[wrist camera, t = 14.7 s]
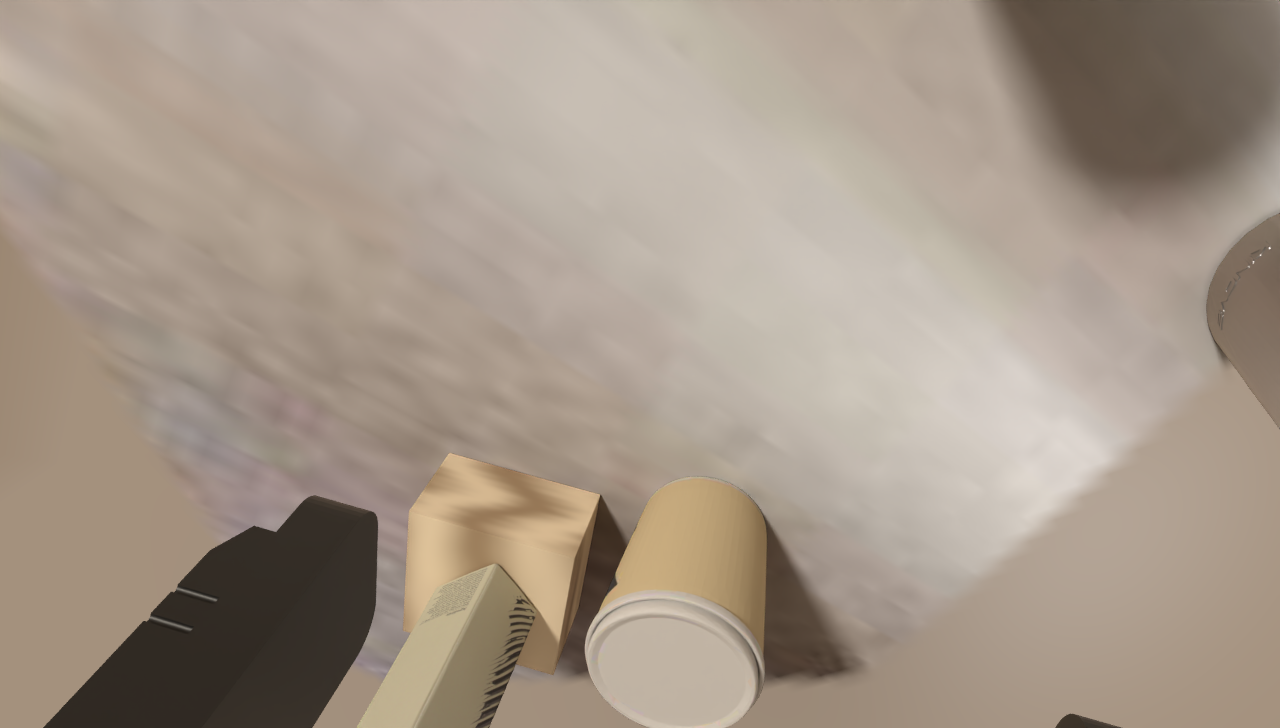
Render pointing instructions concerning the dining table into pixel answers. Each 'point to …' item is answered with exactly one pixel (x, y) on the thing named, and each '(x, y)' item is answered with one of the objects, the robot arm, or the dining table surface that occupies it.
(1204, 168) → the dining table surface
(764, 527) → the coffee cup
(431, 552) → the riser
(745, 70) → the dining table surface
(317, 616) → the robot arm
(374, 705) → the box
